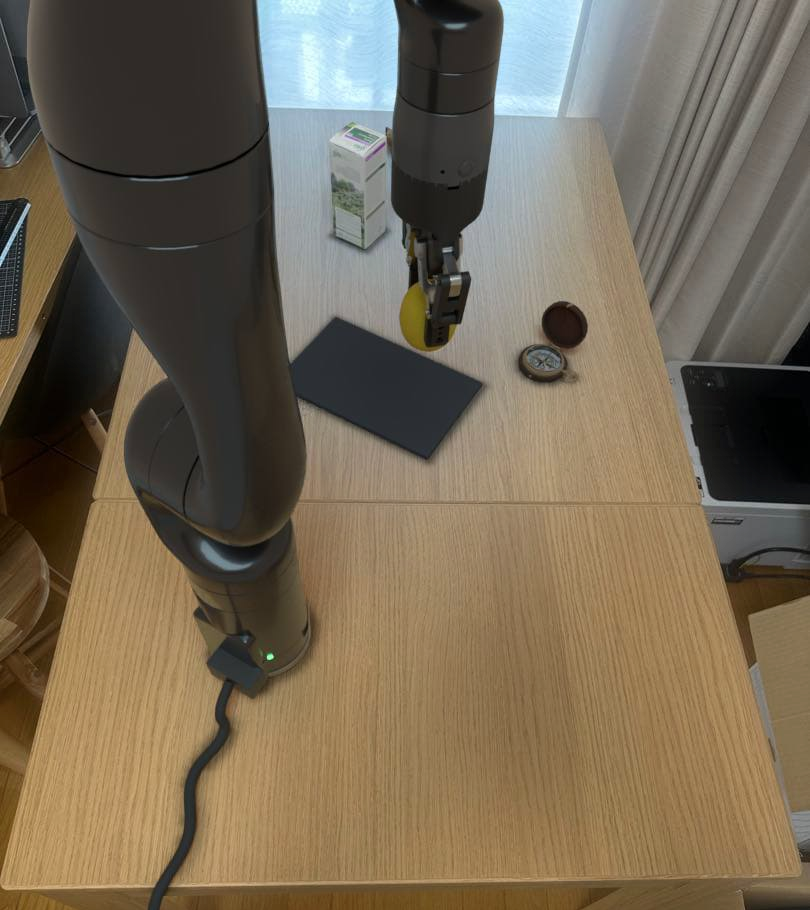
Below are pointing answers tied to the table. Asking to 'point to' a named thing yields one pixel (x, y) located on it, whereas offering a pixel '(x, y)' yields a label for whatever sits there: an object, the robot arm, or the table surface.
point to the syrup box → (358, 184)
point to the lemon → (416, 319)
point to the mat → (382, 386)
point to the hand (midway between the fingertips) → (427, 320)
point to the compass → (555, 342)
